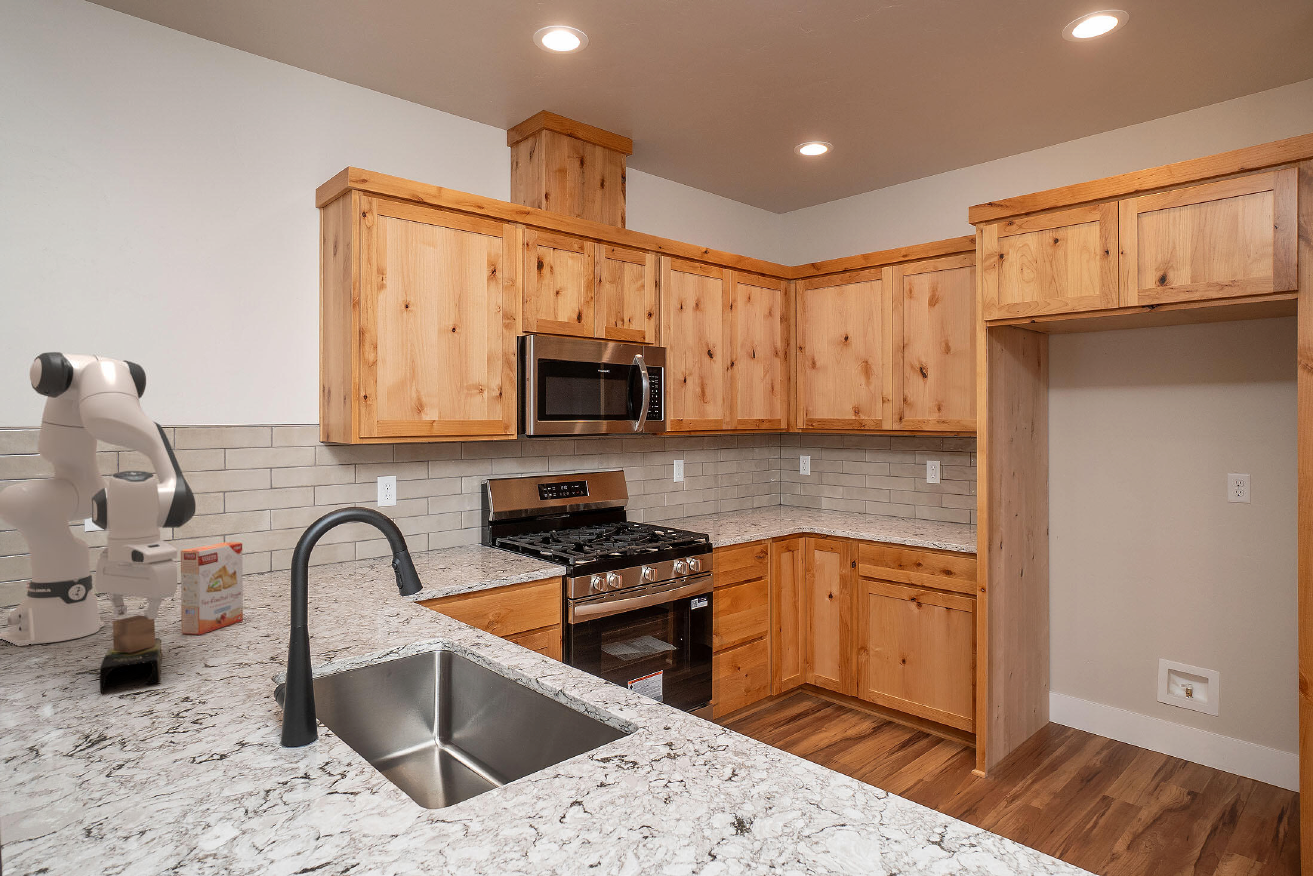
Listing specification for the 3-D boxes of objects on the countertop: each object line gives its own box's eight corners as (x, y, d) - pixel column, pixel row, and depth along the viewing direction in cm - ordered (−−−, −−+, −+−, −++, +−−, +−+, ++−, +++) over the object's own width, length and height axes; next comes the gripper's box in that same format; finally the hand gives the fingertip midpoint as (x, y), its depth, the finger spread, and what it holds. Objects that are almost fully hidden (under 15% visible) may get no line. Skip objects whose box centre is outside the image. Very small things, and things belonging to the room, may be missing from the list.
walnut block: (113, 650, 146) (112, 621, 146) (138, 643, 151) (138, 615, 151) (130, 652, 145) (129, 623, 145) (155, 645, 149) (154, 617, 149)
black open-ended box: (106, 669, 152) (106, 640, 152) (162, 660, 158) (162, 633, 158) (97, 699, 136) (97, 667, 136) (160, 688, 141) (160, 657, 141)
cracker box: (201, 635, 175) (198, 550, 175) (180, 634, 177) (178, 550, 176) (245, 620, 189) (243, 541, 189) (225, 619, 190) (223, 541, 190)
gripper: (85, 549, 149) (86, 615, 149) (152, 555, 142) (153, 625, 142) (117, 544, 155) (118, 608, 155) (183, 550, 148) (184, 617, 148)
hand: (135, 616), depth 149 cm, fingers open, 8 cm apart
